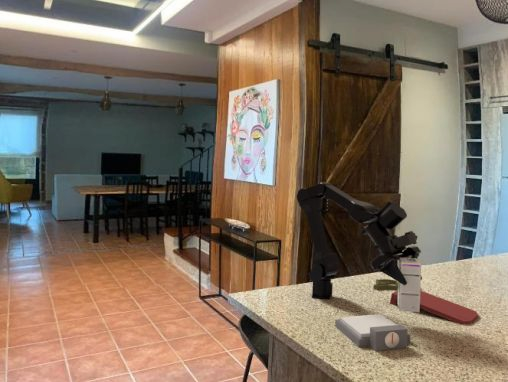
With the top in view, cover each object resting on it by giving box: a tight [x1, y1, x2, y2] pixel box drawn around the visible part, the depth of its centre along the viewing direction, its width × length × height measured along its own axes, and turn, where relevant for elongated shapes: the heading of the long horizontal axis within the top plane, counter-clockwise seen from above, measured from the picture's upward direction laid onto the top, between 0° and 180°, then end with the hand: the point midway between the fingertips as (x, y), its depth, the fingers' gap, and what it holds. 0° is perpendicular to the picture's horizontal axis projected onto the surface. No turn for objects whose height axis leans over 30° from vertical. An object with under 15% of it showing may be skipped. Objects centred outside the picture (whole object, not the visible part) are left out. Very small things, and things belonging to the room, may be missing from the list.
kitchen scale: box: [334, 313, 411, 352], centre depth 116 cm, size 18×15×5 cm
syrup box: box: [397, 258, 422, 313], centre depth 124 cm, size 6×6×14 cm
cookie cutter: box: [373, 278, 423, 291], centre depth 161 cm, size 18×12×2 cm, turn 56°
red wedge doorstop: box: [389, 290, 479, 326], centre depth 139 cm, size 12×5×25 cm
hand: (413, 282), depth 123 cm, fingers closed on syrup box, 8 cm apart
